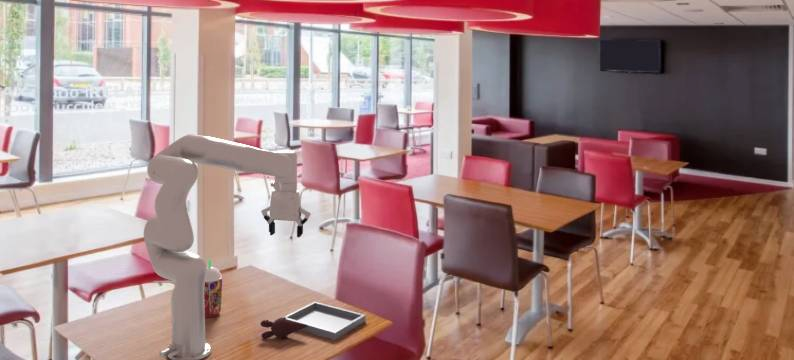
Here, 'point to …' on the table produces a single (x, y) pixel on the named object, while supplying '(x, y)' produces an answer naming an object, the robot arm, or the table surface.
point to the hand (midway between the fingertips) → (285, 235)
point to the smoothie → (212, 291)
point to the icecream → (281, 327)
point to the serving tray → (327, 320)
